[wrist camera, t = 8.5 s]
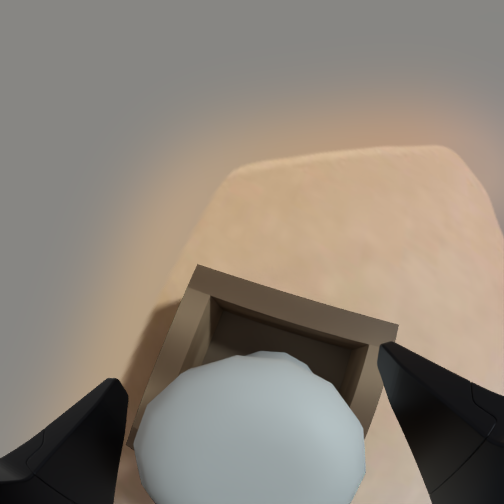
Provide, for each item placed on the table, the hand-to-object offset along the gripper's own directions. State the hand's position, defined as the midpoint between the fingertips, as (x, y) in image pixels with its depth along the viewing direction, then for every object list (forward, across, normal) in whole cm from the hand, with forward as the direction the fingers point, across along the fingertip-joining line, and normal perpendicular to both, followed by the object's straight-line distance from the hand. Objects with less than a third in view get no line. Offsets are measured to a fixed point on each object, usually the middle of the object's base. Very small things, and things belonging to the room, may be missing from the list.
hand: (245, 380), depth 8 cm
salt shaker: (+5, 0, +7) cm, 8 cm away
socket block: (+6, 0, +7) cm, 9 cm away
